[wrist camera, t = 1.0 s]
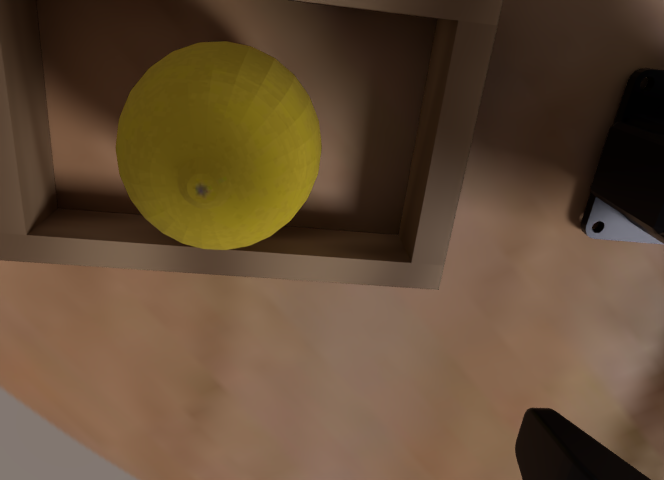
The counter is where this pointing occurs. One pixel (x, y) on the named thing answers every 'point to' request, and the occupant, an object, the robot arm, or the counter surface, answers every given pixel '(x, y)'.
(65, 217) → the holder frame
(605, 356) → the counter surface
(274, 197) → the lemon
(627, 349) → the counter surface
